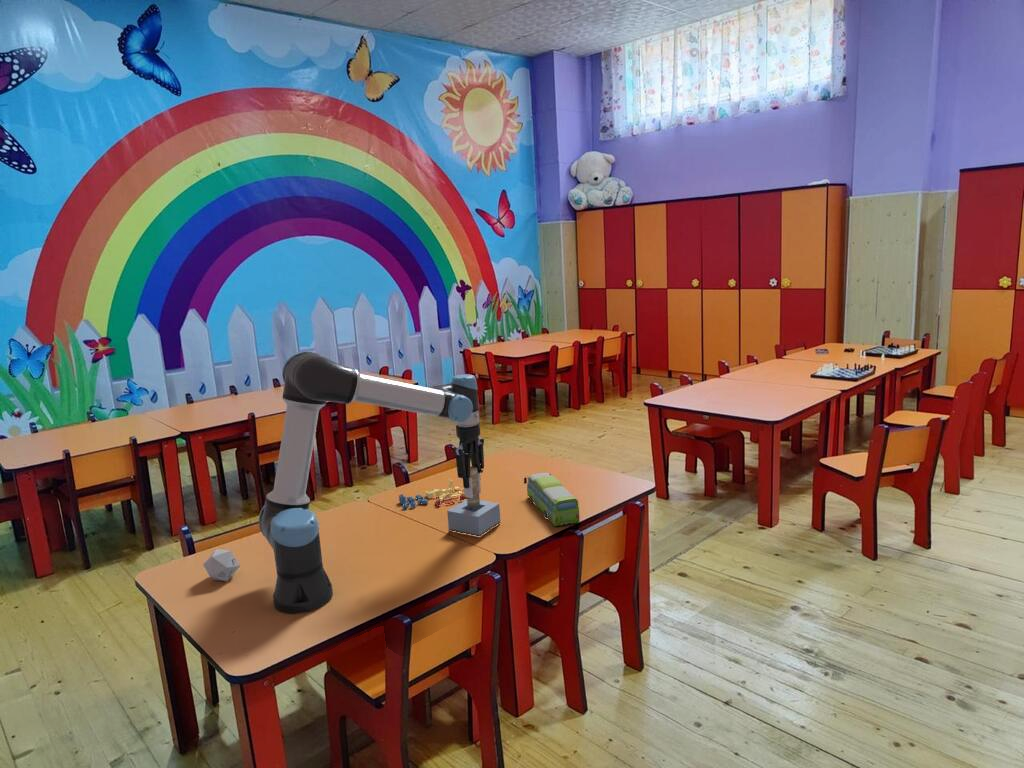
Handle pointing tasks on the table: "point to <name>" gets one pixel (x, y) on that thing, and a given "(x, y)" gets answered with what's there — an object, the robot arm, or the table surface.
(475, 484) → the peg
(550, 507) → the toy bus
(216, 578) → the die
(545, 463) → the table surface
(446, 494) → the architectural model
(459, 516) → the socket block
